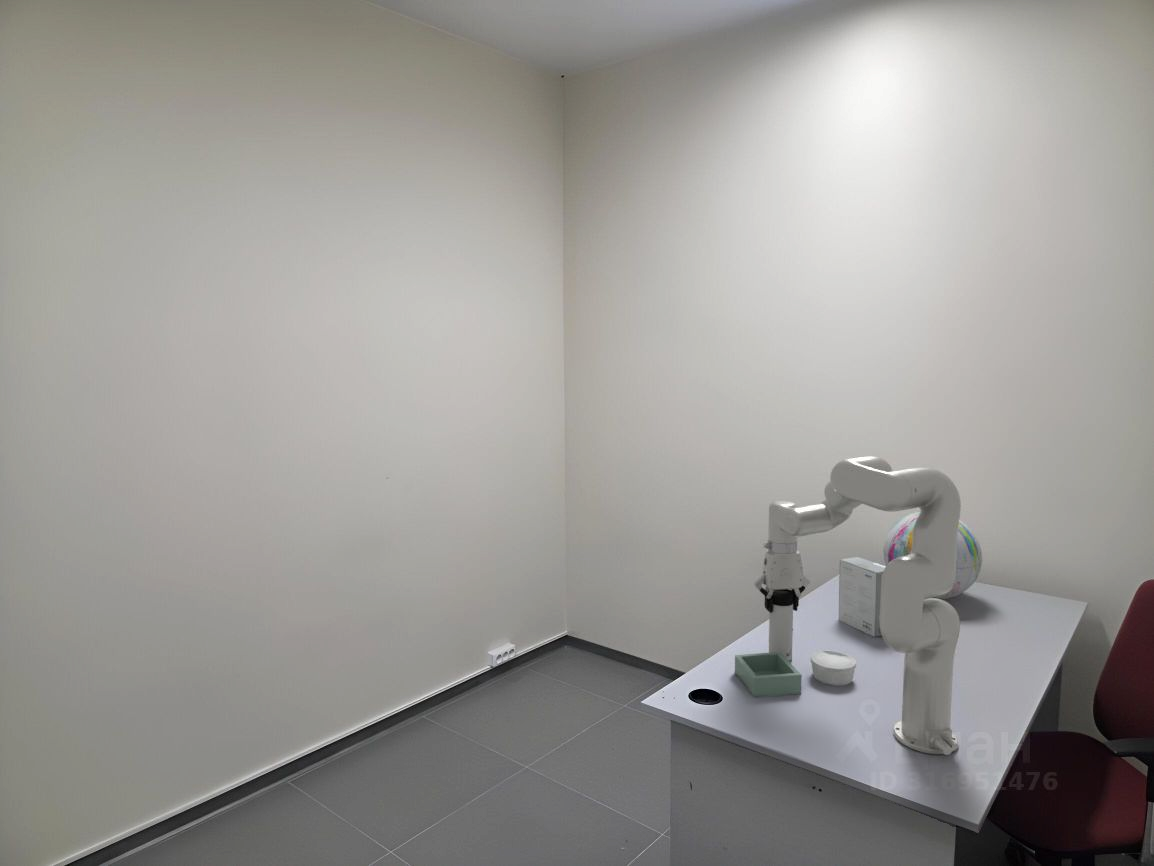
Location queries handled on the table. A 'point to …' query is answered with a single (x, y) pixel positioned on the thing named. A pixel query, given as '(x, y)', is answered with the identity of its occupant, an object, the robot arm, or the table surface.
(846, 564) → the hard drive box
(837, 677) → the ramekin
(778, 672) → the tray
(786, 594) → the travel mug
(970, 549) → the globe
